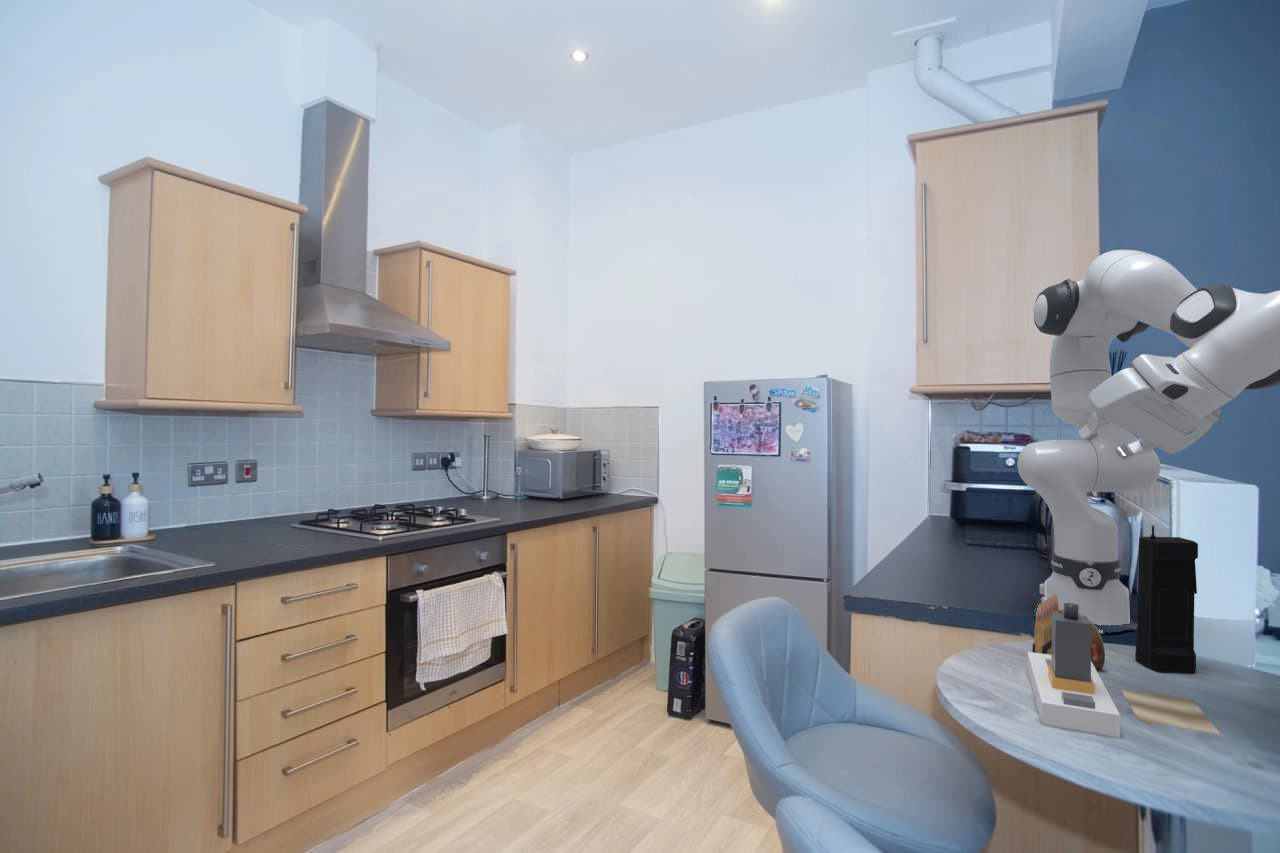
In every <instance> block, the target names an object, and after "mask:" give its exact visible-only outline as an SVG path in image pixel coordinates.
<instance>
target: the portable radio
mask: <svg viewBox="0 0 1280 853" xmlns="http://www.w3.org/2000/svg"><path fill="white" fill-rule="evenodd" d="M1150 527H1151V534H1150V535H1149V536H1139V538H1138V570H1137V571H1138V572H1137V573H1138V576H1137V577H1138V580H1137V584H1138V586H1137V609H1136V610H1137V612H1136V623H1137V630H1136V638H1135V654H1134V655H1135V660H1134V661H1136V662H1137V663H1139V664H1140V665H1143V666H1145V667H1146V668H1148V669H1150V670H1152V669H1153V671H1155V670H1156V672H1158V671H1159V673H1173V672H1185V673H1184V674H1195V673H1196V670H1197V654H1196V651H1195V595H1197V594H1198V588H1197V586H1198V585H1197V571H1196V560H1197V559H1198V558H1199V543H1197V542H1196V541H1194V540H1192V539H1188V538H1183V537H1179V536H1156V535H1155V525H1152V524H1151V525H1150Z"/></svg>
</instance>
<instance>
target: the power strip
mask: <svg viewBox="0 0 1280 853" xmlns="http://www.w3.org/2000/svg"><path fill="white" fill-rule="evenodd" d="M1026 659H1027V660H1026V661H1027V662H1026V665H1027V666H1026V667H1027V669H1026V670H1027V672H1028V678H1029V681H1030V685H1031V688H1032V689H1031V690H1032V692H1033V696H1034V700H1035V704H1036V707H1037V711H1038V715H1039V718H1040V719H1039V720H1040V722H1041V725H1045V726H1051V727H1056V728H1061V729H1066V730H1067V729H1068V730H1072V731H1079V732H1085V733H1091V734H1097V735H1102V736H1107V737H1113V738H1118V739H1120V738H1121V714H1120V713H1119V711H1118V708H1117V706H1116V705H1115V703H1114V701H1113V699H1112V697H1111V695H1110V693H1109V692H1108V690H1107V688H1106V686H1105V683H1104V682H1103V680H1102V678H1101V676H1100V675H1099V673H1098V671H1097V669H1095V667H1094V665H1093V663H1092V661H1091V678H1092V680H1093V682H1094V684H1095V694H1088V693H1082V692H1075V691H1069V690H1062V689H1056V688H1052V686H1051V683H1050V680H1049V677H1048V666H1051V655H1049V654H1041V653H1034V652H1032V651H1027V657H1026Z"/></svg>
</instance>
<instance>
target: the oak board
mask: <svg viewBox="0 0 1280 853" xmlns="http://www.w3.org/2000/svg"><path fill="white" fill-rule="evenodd" d="M1120 691H1121V693H1122V694H1123V696H1124V698H1125V700H1126V702H1127V703H1128V704H1129V706H1130V708H1131V710H1132V711H1133V713H1134V714H1135V716H1136V718H1137V719H1138V721H1139V722H1142V723H1148V724H1154V725H1159V726H1167V727H1170V728H1171V727H1173V728H1179V729H1185V730H1191V731H1197V732H1203V733H1209V734H1213V735H1214V734H1216V735H1222V734H1221V732H1220V731H1219V730H1218V728H1217V727H1216V726H1215V725H1214V724H1213V722H1212V721H1211V720H1210V719H1209V718H1208V716H1207V715H1206V714H1205V713H1204V712H1203V710H1202V709H1201V708H1200V706H1198V705H1197V703H1196V702H1195V701H1194V699H1190V698H1183V697H1179V696H1178V697H1176V696H1169V695H1163V694H1156V693H1150V692H1143V691H1137V690H1136V691H1135V690H1128V689H1123V688H1120Z"/></svg>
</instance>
